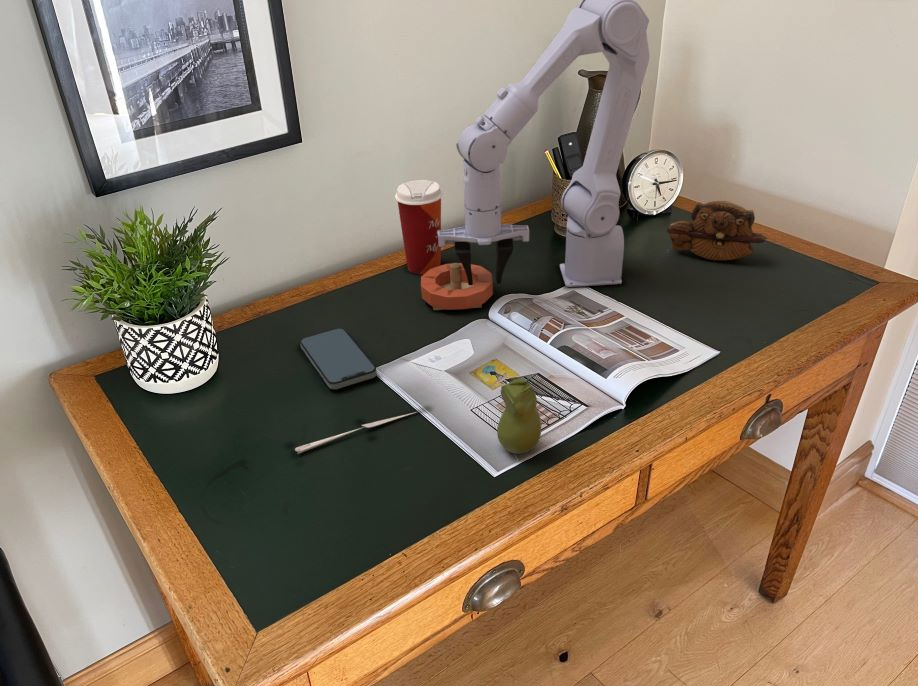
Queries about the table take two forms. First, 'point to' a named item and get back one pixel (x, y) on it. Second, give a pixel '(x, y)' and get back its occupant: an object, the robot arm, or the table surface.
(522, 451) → the pear
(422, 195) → the coffee cup
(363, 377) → the smartphone
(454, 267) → the post
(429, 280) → the ring
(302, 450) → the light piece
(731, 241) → the wooden carving
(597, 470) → the table surface
